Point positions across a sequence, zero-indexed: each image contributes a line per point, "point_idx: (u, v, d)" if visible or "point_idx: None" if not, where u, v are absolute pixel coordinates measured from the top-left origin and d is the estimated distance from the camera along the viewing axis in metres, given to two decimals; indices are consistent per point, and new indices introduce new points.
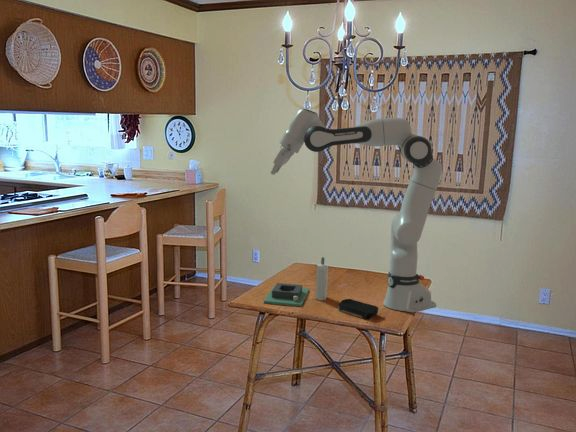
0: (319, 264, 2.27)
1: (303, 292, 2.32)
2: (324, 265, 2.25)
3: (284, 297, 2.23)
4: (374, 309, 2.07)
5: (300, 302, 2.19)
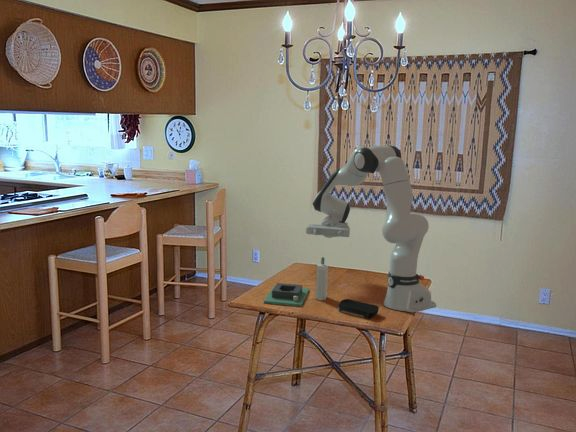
0: (319, 264, 2.27)
1: (303, 292, 2.32)
2: (324, 265, 2.25)
3: (284, 297, 2.23)
4: (375, 308, 2.08)
5: (300, 302, 2.19)
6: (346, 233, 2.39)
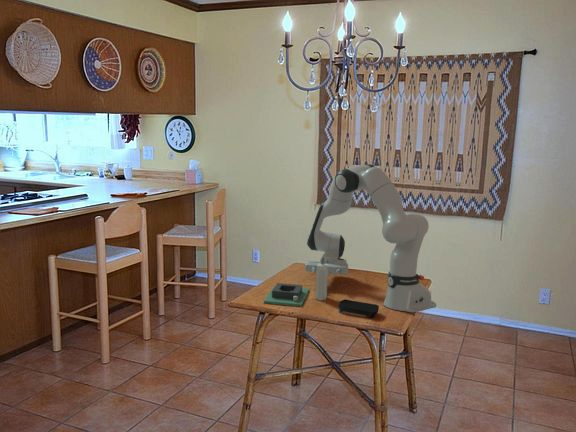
0: (319, 264, 2.27)
1: (303, 292, 2.32)
2: (324, 265, 2.25)
3: (284, 297, 2.23)
4: (376, 307, 2.09)
5: (300, 302, 2.19)
6: (345, 270, 2.39)
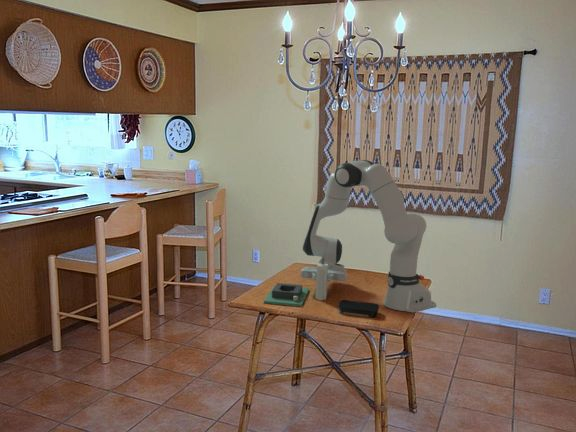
0: (319, 264, 2.27)
1: (303, 292, 2.32)
2: (324, 265, 2.25)
3: (284, 297, 2.23)
4: (376, 306, 2.11)
5: (300, 302, 2.19)
6: (343, 277, 2.29)
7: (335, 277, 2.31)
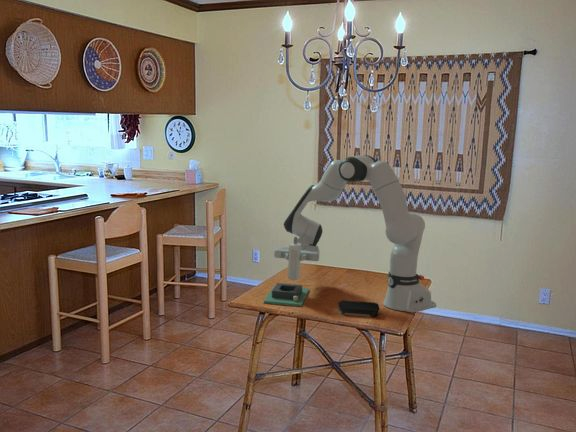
0: (292, 244, 2.26)
1: (303, 292, 2.32)
2: (297, 245, 2.24)
3: (284, 297, 2.23)
4: (376, 305, 2.12)
5: (300, 302, 2.19)
6: (315, 257, 2.28)
7: (308, 257, 2.30)
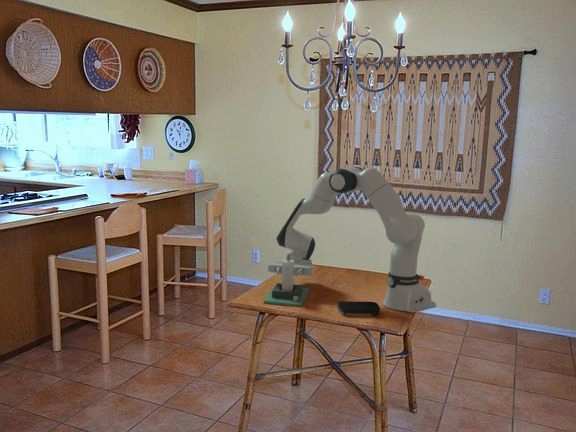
0: (285, 260, 2.27)
1: (303, 292, 2.32)
2: (290, 261, 2.26)
3: (284, 297, 2.23)
4: (376, 304, 2.13)
5: (300, 302, 2.19)
6: (309, 271, 2.29)
7: None
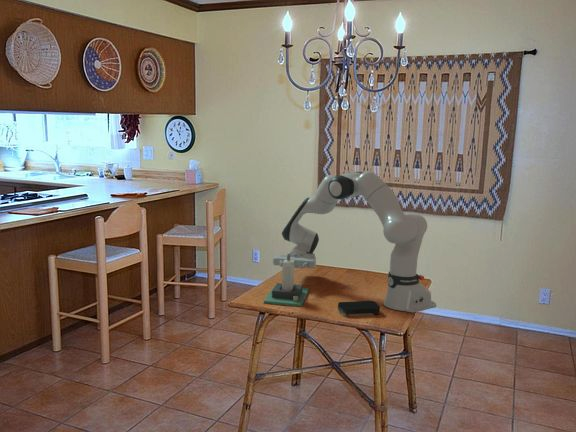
0: (285, 260, 2.27)
1: (303, 292, 2.32)
2: (290, 261, 2.26)
3: (284, 297, 2.23)
4: (374, 303, 2.14)
5: (300, 302, 2.19)
6: (312, 264, 2.40)
7: None
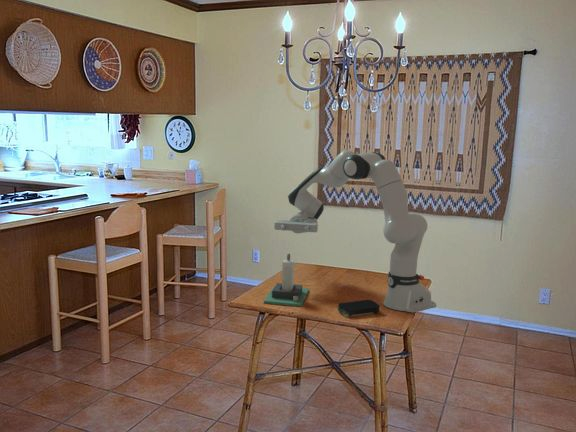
0: (285, 260, 2.27)
1: (303, 292, 2.32)
2: (290, 261, 2.26)
3: (284, 297, 2.23)
4: (373, 302, 2.16)
5: (300, 302, 2.19)
6: (314, 228, 2.38)
7: None
